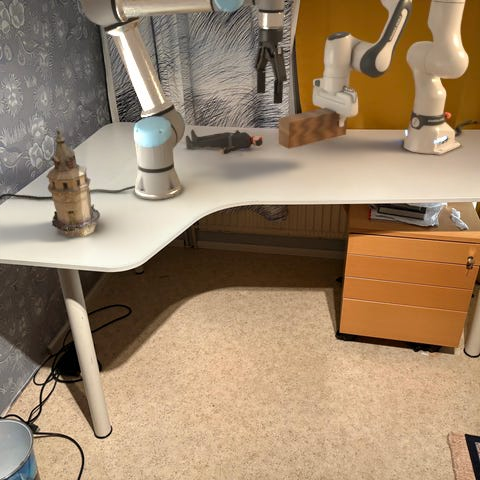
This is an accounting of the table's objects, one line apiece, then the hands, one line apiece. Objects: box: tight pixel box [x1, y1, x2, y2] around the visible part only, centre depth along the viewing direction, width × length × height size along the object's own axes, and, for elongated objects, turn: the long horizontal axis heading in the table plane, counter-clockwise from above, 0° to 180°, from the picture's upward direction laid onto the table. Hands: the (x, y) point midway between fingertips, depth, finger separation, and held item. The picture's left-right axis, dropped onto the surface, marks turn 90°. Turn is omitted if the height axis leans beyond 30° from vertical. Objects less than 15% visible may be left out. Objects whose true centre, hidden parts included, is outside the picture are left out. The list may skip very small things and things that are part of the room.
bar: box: [278, 108, 348, 150], centre depth 184 cm, size 25×6×9 cm, turn 122°
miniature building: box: [46, 129, 101, 237], centre depth 148 cm, size 13×14×30 cm
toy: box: [185, 129, 264, 156], centre depth 213 cm, size 26×6×30 cm
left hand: (269, 98), depth 171 cm, fingers open, 13 cm apart
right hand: (333, 123), depth 188 cm, fingers closed on bar, 6 cm apart
